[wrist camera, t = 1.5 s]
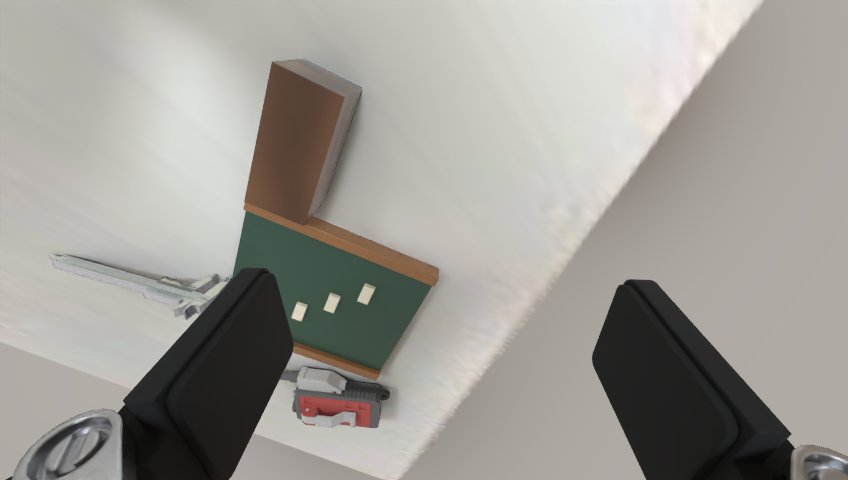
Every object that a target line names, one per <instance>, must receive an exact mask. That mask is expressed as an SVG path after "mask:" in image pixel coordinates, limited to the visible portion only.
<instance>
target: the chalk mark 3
mask: <svg viewBox="0 0 848 480" xmlns="http://www.w3.org/2000/svg"><path fill="white" fill-rule="evenodd" d="M374 290H375V287H374V286H371V285H369V284H366V283H365V285H364V287H363V289H362V291H361V293H360V295H359V297H358V300H357V301H358V302H361V303H364V304H366V305H367V304H368V302H369V300H370V298H371V296H372V294H373V292H374Z"/></svg>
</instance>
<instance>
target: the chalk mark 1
mask: <svg viewBox="0 0 848 480" xmlns="http://www.w3.org/2000/svg"><path fill="white" fill-rule="evenodd" d="M307 306H308V305H306V304H304V303H301V302H297V304H296V306H295V309H294V312H293V315H292V318H293V319H295V320H298V321H302V319H303V317H304V314H305V312H306V309H307Z"/></svg>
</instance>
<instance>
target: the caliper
mask: <svg viewBox="0 0 848 480" xmlns="http://www.w3.org/2000/svg"><path fill="white" fill-rule="evenodd" d="M49 257H50V259H51V261H52V263H53V265H54V267H55V268H56V269H60V270H63V271H66V272H70V273H73V274H77V275H80V276H83V277H87V278H90V279H94V280H97V281H100V282H104V283H107V284H111V285H114V286H118V287H121V288H125V289H128V290H131V291H135V292H138V293H142V294H143V296H144V298H147V299H150V300H153V301H156V302H159V303H163V304H166V305H169V306H172V307H175V308H173V311H174V314H175V317H177V316H180V315H183V314H184V316H185V319H186V320H187V319H188V318H190V317H191V316H192V315H194V314H195V313H199V314H201V313H202V312H203V311H204V310H205V309H206V308H207V307H208V306H209V305H210V303H211V302H212V301H213V300H214V299H215V298H216V297H217V296H218V295H219V294H220V292H221V291H222V290H223V289H224V288H225V287H226V286H227V285H228V284H229V282H230V279H229V278H228V277H227V278H226V279H224V280H223V281H222V282H220V283H219V284H217V285H216V286H214V285H215V284H216V283H218V282H219V279H218V275H217V274H215V275H211V276H208V277H206V278H204V279H202V280H199V281H197V282H195V283H193V284H190V285H188V286H185V285H182V283H180V282H179V281H178V280H172V279H169V278H168V277H163V278H161V279H159V280H154V279H151V278H147V277H144V276H140V275H136V274H133V273H129V272H126V271H122V270H119V269H115V268H112V267H108V266H105V265H101V264H98V263H94V262H91V261H87V260H84V259H81V258H77V257H74V256H70V255H63V256H61V257H60V256H57V255H53V254H50V255H49ZM213 286H214V287H213ZM211 287H213V288H211ZM210 288H211V289H210ZM209 289H210V290H209ZM207 290H208V291H207ZM206 291H207V292H206ZM204 292H205V293H204ZM203 293H204V294H203Z"/></svg>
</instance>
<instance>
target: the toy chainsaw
mask: <svg viewBox="0 0 848 480" xmlns="http://www.w3.org/2000/svg"><path fill="white" fill-rule="evenodd" d="M280 379H281V380H289V381H290V382H295V386H297V388H296V391H295V390H294V391H293V393H292V397H294V402H293V407H292V410H293V412H296V413H297V418H299V419H301V420H302V422H303V423H304V424H306V425H314V426H315V425H318V426H322V427H331V428H332V427H334V426H336V425H338V424H342V425H350V426H351V427H353V428H354V427H355V426H360V427H369V428H377V427H378V424H379V419H380V413H381V402H382V400H387V399H388V398H389V394H390V392H389V391H388V390H386V389H383V388H382V387H381V386H379V385H378V384H372V383H363V382H354V381H347V380H345V378H343V377H342V376H340V375H338V374H336V373H335V372H333V371H328V370H320V369H311V368H308V367H302V368H301V370H300V372H296V371H292V372H286V371H283V373H282V375H281V377H280Z"/></svg>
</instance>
